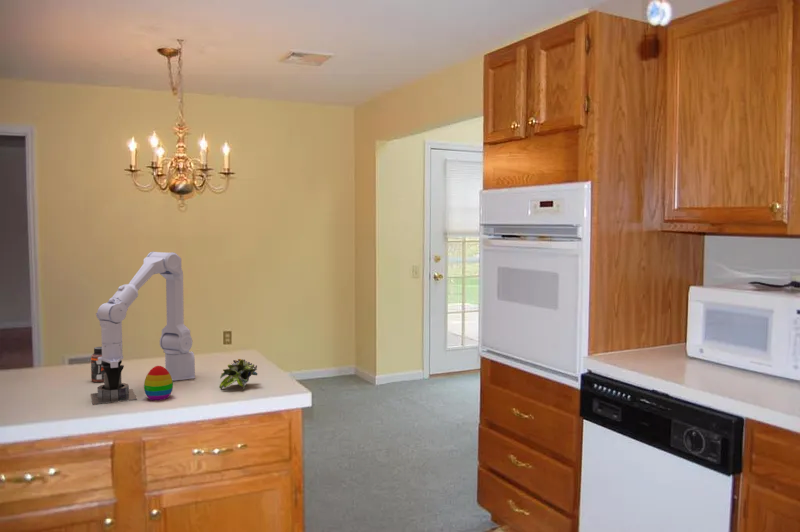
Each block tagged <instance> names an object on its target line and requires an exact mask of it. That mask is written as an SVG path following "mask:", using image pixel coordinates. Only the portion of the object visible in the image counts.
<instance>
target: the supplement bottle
mask: <svg viewBox="0 0 800 532" xmlns="http://www.w3.org/2000/svg"><path fill="white" fill-rule="evenodd" d="M98 357H102V346H96V347H93V353H92V355H91V356H90V370H91V371H90V372H91V373H90V375H91V379H90V380H91V381H92V382H93V383H104V374H105V373H106V372H105V370H104V369H103V365H102V362H105V361H102V360H100V361H98Z"/></svg>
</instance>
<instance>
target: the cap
mask: <svg viewBox="0 0 800 532" xmlns="http://www.w3.org/2000/svg"><path fill="white" fill-rule="evenodd" d="M103 383H104V384H103V385H104V389H110V387H109V383H108V377H107V374H106V373H105V374H104V382H103ZM122 383H123V381H122V373H121V374H120V379H119V385H118V388H122ZM118 388H114V389H118Z"/></svg>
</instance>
